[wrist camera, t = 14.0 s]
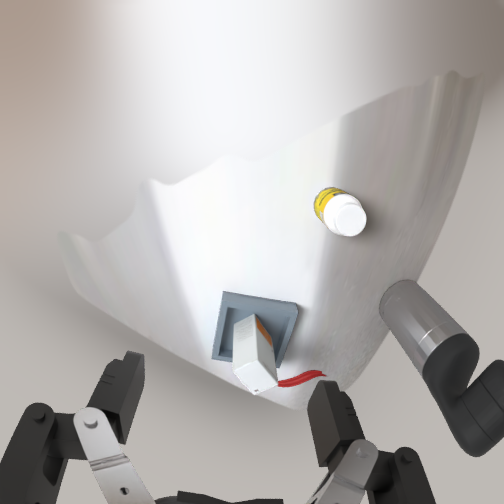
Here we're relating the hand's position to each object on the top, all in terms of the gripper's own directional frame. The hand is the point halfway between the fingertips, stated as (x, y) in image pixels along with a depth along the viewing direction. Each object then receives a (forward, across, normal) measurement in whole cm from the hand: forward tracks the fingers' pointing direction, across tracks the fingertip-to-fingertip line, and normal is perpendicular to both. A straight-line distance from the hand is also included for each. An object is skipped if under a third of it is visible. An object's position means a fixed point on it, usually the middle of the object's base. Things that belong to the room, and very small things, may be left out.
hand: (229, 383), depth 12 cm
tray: (+33, -6, +19) cm, 39 cm away
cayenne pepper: (+34, -18, +30) cm, 49 cm away
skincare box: (+32, -6, +19) cm, 38 cm away
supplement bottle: (+33, -13, -4) cm, 36 cm away
